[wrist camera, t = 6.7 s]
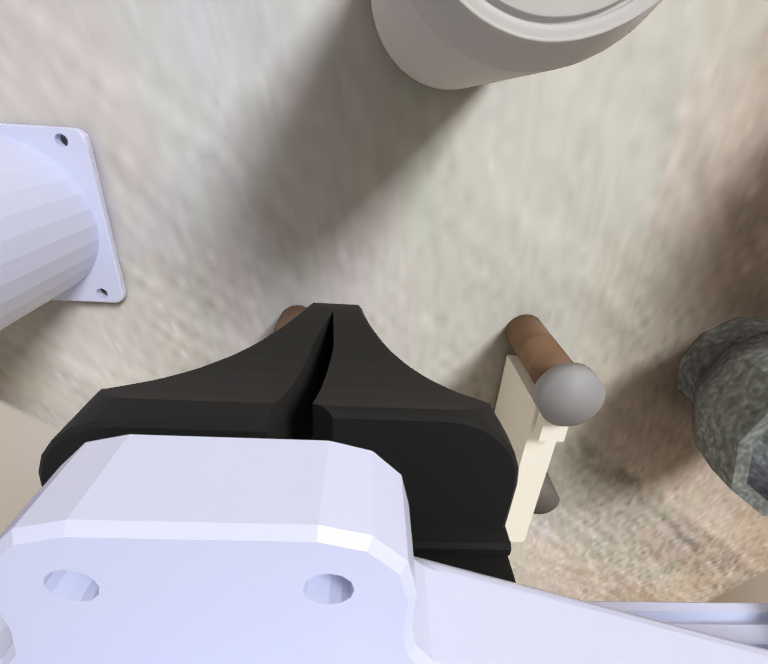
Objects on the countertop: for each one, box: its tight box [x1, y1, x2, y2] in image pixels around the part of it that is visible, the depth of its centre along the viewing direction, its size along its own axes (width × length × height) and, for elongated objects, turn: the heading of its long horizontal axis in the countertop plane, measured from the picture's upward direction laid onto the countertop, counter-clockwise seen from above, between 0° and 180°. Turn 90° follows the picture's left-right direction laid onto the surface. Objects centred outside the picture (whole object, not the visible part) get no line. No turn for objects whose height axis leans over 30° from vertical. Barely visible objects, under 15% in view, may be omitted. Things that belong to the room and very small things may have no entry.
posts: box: [274, 305, 573, 514], centre depth 23 cm, size 16×12×6 cm
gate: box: [494, 355, 606, 542], centre depth 23 cm, size 12×3×6 cm, turn 177°
